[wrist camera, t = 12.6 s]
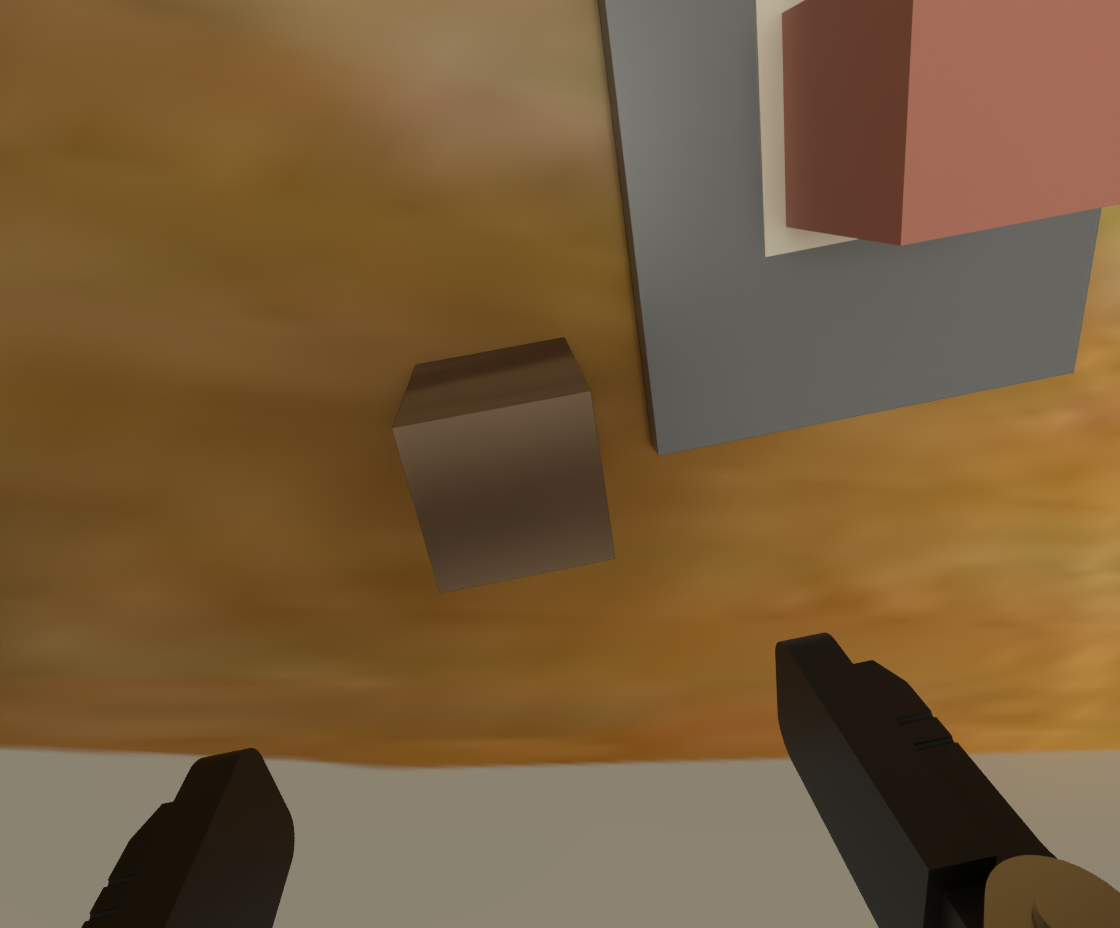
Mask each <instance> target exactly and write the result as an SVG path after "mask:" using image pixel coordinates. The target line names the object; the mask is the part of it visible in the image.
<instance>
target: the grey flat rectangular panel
mask: <svg viewBox="0 0 1120 928" xmlns="http://www.w3.org/2000/svg"><path fill="white" fill-rule="evenodd" d="M802 1H804V0H598V4H599V12H600V20H601V29H602V37H603V45H604V53H605V62H606V70H607V78H608V86H609V95H610V103H611V111H612V119H613V127H614V136H615V144H616V152H617V160H618V169H619V177H620V185H621V193H622V202H623V210H624V218H625V226H626V234H627V243H628V251H629V259H630V267H631V276H632V284H633V292H634V300H635V309H636V317H637V325H638V333H639V341H640V350H641V358H642V366H643V374H644V383H645V391H646V399H647V407H648V416H649V424H650V432H651V440H652V446H653V447H654V449H655V451H656V452H657V454H658V455H659V456H661V455H666V454H671V453H676V452H681V451H686V450H691V449H696V448H701V447H706V446H711V445H716V444H721V443H726V442H731V441H736V440H741V439H746V438H751V437H755V436H760V435H765V434H770V433H775V432H780V431H785V430H790V429H795V428H800V427H805V426H810V425H815V424H820V423H825V422H830V421H835V420H840V419H845V418H850V417H855V416H860V415H865V414H870V413H875V412H880V411H885V410H890V409H895V408H900V407H905V406H910V405H915V404H920V403H925V402H930V401H935V400H940V399H945V398H950V397H955V396H960V395H965V394H970V393H975V392H980V391H985V390H990V389H995V388H1000V387H1005V386H1010V385H1015V384H1020V383H1025V382H1030V381H1035V380H1040V379H1045V378H1050V377H1054V376H1059V375H1064V374H1069V373H1074V369H1075V363H1076V357H1077V351H1078V345H1079V339H1080V333H1081V327H1082V321H1083V315H1084V309H1085V303H1086V297H1087V291H1088V285H1089V280H1090V274H1091V268H1092V262H1093V256H1094V250H1095V244H1096V238H1097V232H1098V226H1099V220H1100V214H1101V208H1102V207H1101V208H1096V209H1091V210H1085V211H1080V212H1075V213H1070V214H1064V215H1059V216H1054V217H1049V218H1044V219H1038V220H1033V221H1028V222H1023V223H1017V224H1012V225H1007V226H1002V227H996V228H991V229H986V230H981V231H975V232H970V233H965V234H960V235H954V236H949V237H944V238H939V239H934V240H928V241H923V242H918V243H913V244H907V245H902V246H899V245H893V244H887V243H881V242H875V241H869V240H862V239H856V238H850V237H844V236H838V235H832V234H826V233H819V232H813V231H807V230H801V229H795V228H789V227H786V201H785V150H784V100H783V49H782V13H783V12H785V11H786V10H788V9H790V8H792V7H794V6H795V5H797V4H799V3H801V2H802Z"/></svg>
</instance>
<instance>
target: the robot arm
mask: <svg viewBox="0 0 1120 928" xmlns="http://www.w3.org/2000/svg"><path fill="white" fill-rule="evenodd" d="M775 658H776V682H777V706H778V720H779V725H780V730H781V734H782V737H783V740H784V743H785V746H786V749H787V751H788V754H789V756H790V758H791V760H792V762H793V764H794V766H795V768H796V770H797V772H798V774H799V775H800V777H801V779H802V781H803V783H804V785H805V787H806V789H807V791H808V793H809V795H810V797H811V799H812V800H813V802H814V804H815V806H816V808H817V810H818V812H819V814H820V815H821V818H822V820H823V822H824V823H825V825H826V827H827V829H828V831H829V833H830V835H831V837H832V839H833V841H834V843H835V845H836V846H837V848H838V850H839V852H840V854H841V856H842V858H843V860H844V862H845V864H846V866H847V868H848V869H849V871H850V873H851V875H852V877H853V879H854V881H855V883H856V885H857V887H858V889H859V891H860V892H861V894H862V896H863V898H864V900H865V902H866V904H867V906H868V908H869V910H870V911H871V914H872V916H873V917H874V919H875V921H876V923H877V925H878V927H879V928H1120V893H1119V892H1118V891H1117V890H1115V889H1114V888H1113V887H1112V886H1110V885H1109V884H1108V883H1107V882H1105V881H1103V880H1102V879H1100V878H1099V877H1097V876H1096V875H1094V874H1092V873H1090V872H1089V871H1087V870H1085V869H1083V868H1081V867H1079V866H1076V865H1074V864H1071V863H1069V862H1066V861H1063V860H1059V859H1057V858H1056V857H1055V856H1054V855H1053V854H1052V853H1050V852H1049V851H1048V849H1047V848H1046V847H1045V846H1044V845H1043V844H1042V843H1041V842H1040V841H1039V840H1038V838H1037V837H1036V836H1035V835H1034V834H1033V832H1032V831H1031V830H1030V829H1029V828H1028V826H1027V825H1026V824H1025V823H1024V822H1023V820H1022V819H1021V818H1020V817H1019V816H1018V815H1017V813H1016V812H1015V811H1014V810H1013V809H1012V807H1011V806H1010V805H1009V804H1008V803H1007V802H1006V800H1005V799H1004V798H1003V797H1002V795H1001V794H1000V793H999V792H998V791H997V789H996V788H995V787H994V786H993V785H992V783H991V782H990V781H989V780H988V779H987V777H986V776H985V775H984V774H983V773H982V771H981V770H980V769H979V768H978V767H977V765H976V764H975V763H974V762H973V761H972V759H971V758H970V757H969V756H968V755H967V753H966V752H965V751H964V750H963V749H962V747H961V746H960V745H959V744H958V743H955V742H954V741H953V739H952V735H951V734H950V733H949V732H948V731H947V729H946V728H945V727H944V726H943V725H942V723H941V722H940V721H939V720H938V719H937V717H933V716H932V713H931V710H930V709H929V708H928V707H927V706H926V704H925V703H924V702H923V701H922V700H921V698H920V697H919V696H918V695H917V694H916V692H915V691H914V690H913V689H912V688H911V686H910V685H909V684H908V683H907V682H906V681H905V680H903V679H901V678H900V677H898V676H897V675H895V674H894V673H892V672H890V671H889V670H887V669H886V668H884V667H883V666H881V665H880V664H878V663H876V662H875V661H873V660H871V661H866V662H861V663H856V664H853V663H852V662H851V661H850V659H849V658H848V657H847V655H846V654H845V653H844V651H843V650H842V649H841V647H840V646H839V645H838V643H837V642H836V641H835V640H834V638H833V637H832V636H831V635H830V634H828V633H820V634H815V635H810V636H805V637H801V638H796V639H791V640H786V641H781V642H778V643H777V644H776V649H775ZM294 839H295V838H294V826H293V820H292V817H291V814H290V812H289V810H288V808H287V806H286V804H285V802H284V800H283V798H282V796H281V794H280V792H279V790H278V788H277V786H276V784H275V782H274V780H273V778H272V776H271V774H270V772H269V770H268V768H267V766H266V764H265V762H264V760H263V758H262V756H261V754H260V753H259V752H258V751H257V750H256V749H254V748H248V749H243V750H238V751H233V752H228V753H223V754H218V755H214V756H209V757H204V758H201V759H199V760H197V761H196V762H195V763H194V764H193V766H192V767H191V769H190V770H189V772H188V774H187V776H186V778H185V780H184V782H183V784H182V786H181V788H180V790H179V792H178V794H177V796H176V798H175V800H174V801H173V802H169V803H165V804H162V805H161V806H160V807H159V808H158V809H157V811H155V813H154V814H153V815H152V816H151V817H150V818H149V819H148V821H146V823H145V824H144V825H143V826H142V827H141V828H140V829H139V830H138V832H137V833H136V834H135V835H134V836H133V837H132V838H131V839H130V841H129V842H128V844H127V846H126V848H125V850H124V851H123V853H122V855H121V857H120V859H119V861H118V862H117V864H116V866H115V868H114V870H113V871H112V873H111V875H110V877H109V879H108V881H109V884H108V886H107V887H104V888H103V890H102V891H101V893H100V895H99V897H98V899H97V900H96V902H95V904H94V906H93V908H92V910H91V912H90V919H89V921H86V922H84V924H83V926H82V928H272V927H273V923H274V920H275V916H276V913H277V910H278V906H279V903H280V899H281V896H282V892H283V889H284V886H285V882H286V879H287V876H288V872H289V869H290V865H291V862H292V858H293V852H294Z"/></svg>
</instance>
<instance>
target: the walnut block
mask: <svg viewBox="0 0 1120 928" xmlns="http://www.w3.org/2000/svg"><path fill="white" fill-rule="evenodd" d="M392 430H393V434H394V437H395V441H396V444H397V447H398V451H399V454H400V458H401V461H402V465H403V468H404V471H405V475H406V478H407V482H408V485H409V489H410V492H411V496H412V499H413V502H414V506H415V509H416V513H417V516H418V520H419V523H420V526H421V530H422V533H423V537H424V540H425V544H426V547H427V551H428V554H429V557H430V561H431V564H432V568H433V571H434V575H435V578H436V581H437V585H438V588H439V592H440V593H443V592H448V591H453V590H459V589H464V588H469V587H474V586H479V585H484V584H489V583H494V582H499V581H504V580H510V579H515V578H520V577H525V576H530V575H535V574H540V573H545V572H550V571H555V570H560V569H566V568H571V567H576V566H581V565H586V564H591V563H596V562H601V561H606V560H611V559H615V552H614V545H613V539H612V532H611V525H610V518H609V511H608V505H607V498H606V491H605V484H604V478H603V471H602V464H601V457H600V451H599V444H598V437H597V430H596V424H595V417H594V410H593V403H592V396H591V391H590V389H589V387H588V385H587V383H586V380H585V378H584V376H583V374H582V372H581V370H580V368H579V366H578V364H577V362H576V360H575V358H574V356H573V354H572V352H571V350H570V348H569V346H568V344H567V342H566V340H565V338H564V337H563V338H557V339H552V340H547V341H541V342H536V343H530V344H525V345H520V346H514V347H509V348H503V349H498V350H493V351H487V352H482V353H476V354H471V355H465V356H460V357H455V358H449V359H444V360H438V361H433V362H428V363H422V364H417V365H416V366H415V368H414V371H413V374H412V376H411V379H410V382H409V384H408V387H407V390H406V392H405V395H404V398H403V400H402V403H401V406H400V408H399V411H398V414H397V416H396V419H395V422H394V424H393V427H392Z"/></svg>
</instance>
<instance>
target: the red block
mask: <svg viewBox="0 0 1120 928" xmlns="http://www.w3.org/2000/svg"><path fill="white" fill-rule="evenodd" d="M782 49H783V100H784V150H785V201H786V227H789V228H795V229H801V230H807V231H813V232H819V233H826V234H832V235H838V236H844V237H850V238H856V239H862V240H869V241H875V242H881V243H887V244H893V245H899V246H902V245H907V244H913V243H918V242H923V241H928V240H934V239H939V238H944V237H949V236H954V235H960V234H965V233H970V232H975V231H981V230H986V229H991V228H996V227H1002V226H1007V225H1012V224H1017V223H1023V222H1028V221H1033V220H1038V219H1044V218H1049V217H1054V216H1059V215H1064V214H1070V213H1075V212H1080V211H1085V210H1091V209H1096V208H1101V207H1106V206H1112V205H1117V204H1120V0H804V1H802V2H801V3H799V4H797V5H795V6H794V7H792V8H790V9H788V10H786V11H785V12H783V13H782Z"/></svg>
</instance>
